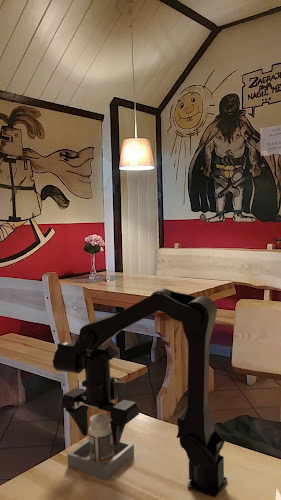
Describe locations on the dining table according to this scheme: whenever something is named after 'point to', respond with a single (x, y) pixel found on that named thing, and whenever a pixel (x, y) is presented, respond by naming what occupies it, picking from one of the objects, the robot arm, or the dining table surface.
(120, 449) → the tray
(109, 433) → the pill bottle
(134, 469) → the dining table surface
